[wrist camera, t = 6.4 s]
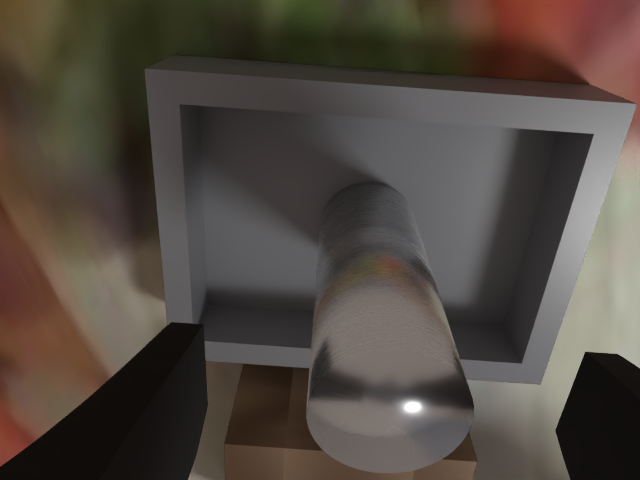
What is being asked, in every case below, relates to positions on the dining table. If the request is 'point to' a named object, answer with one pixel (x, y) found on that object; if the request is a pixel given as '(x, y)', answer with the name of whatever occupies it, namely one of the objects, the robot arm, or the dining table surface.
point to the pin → (381, 340)
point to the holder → (302, 436)
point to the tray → (383, 167)
